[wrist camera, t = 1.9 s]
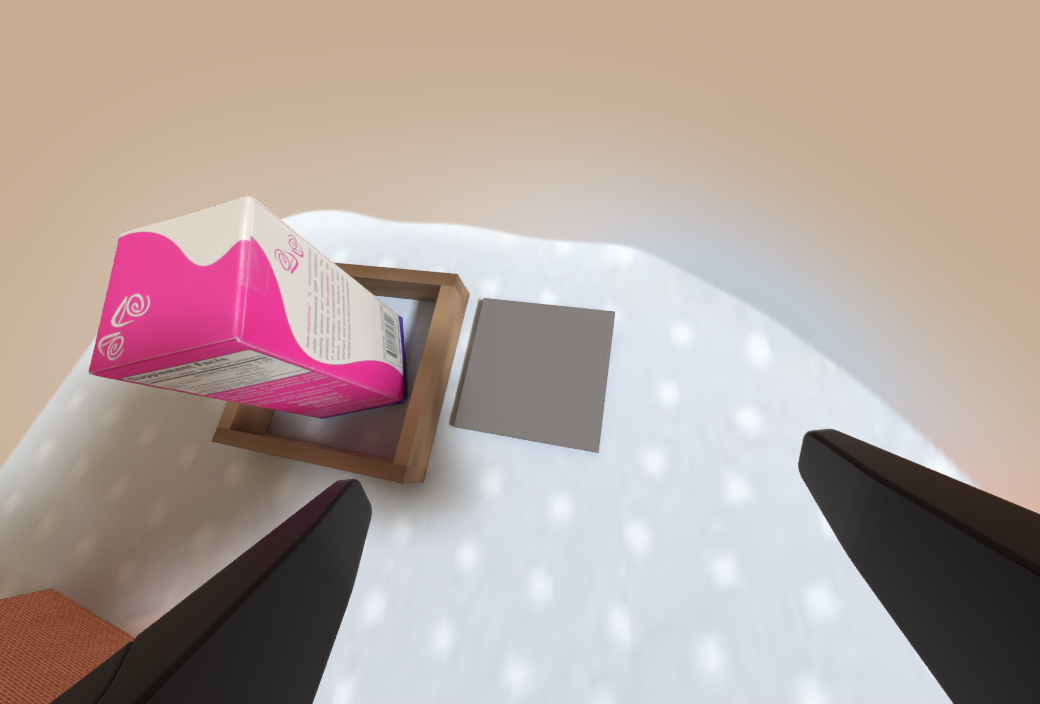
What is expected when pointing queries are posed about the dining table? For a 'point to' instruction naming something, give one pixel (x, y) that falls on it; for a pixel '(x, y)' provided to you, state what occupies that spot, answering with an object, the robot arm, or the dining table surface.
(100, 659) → the house
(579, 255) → the dining table surface
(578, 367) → the gray mat
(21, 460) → the dining table surface
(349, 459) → the walnut crate
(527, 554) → the dining table surface
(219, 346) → the supplement box
